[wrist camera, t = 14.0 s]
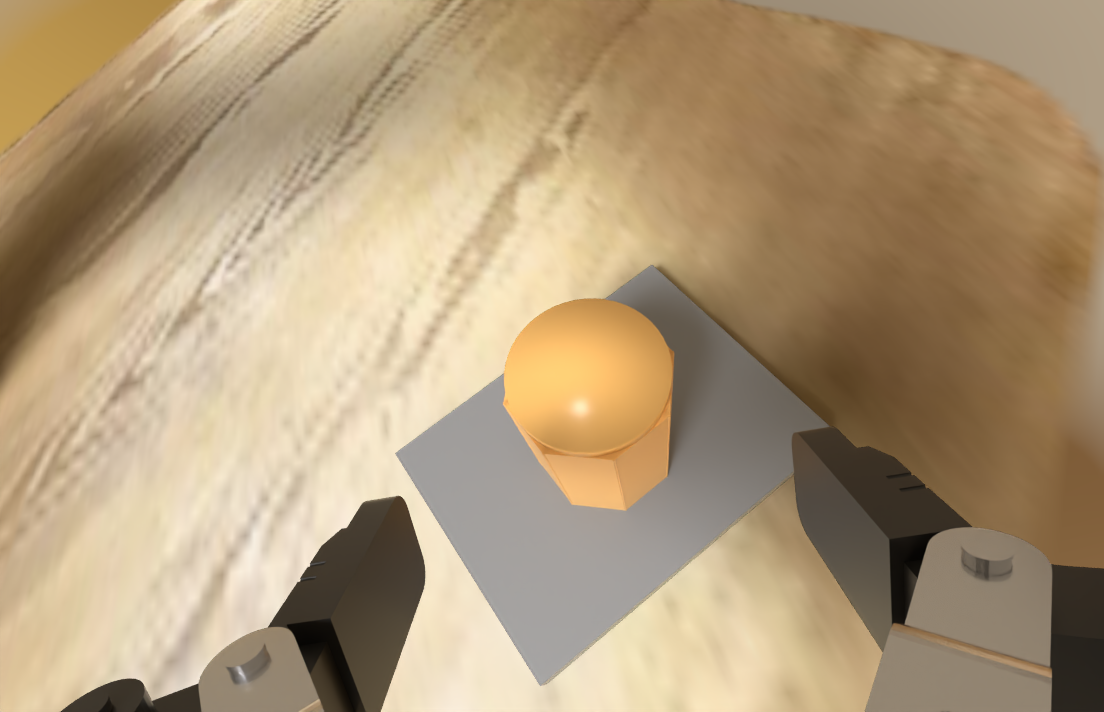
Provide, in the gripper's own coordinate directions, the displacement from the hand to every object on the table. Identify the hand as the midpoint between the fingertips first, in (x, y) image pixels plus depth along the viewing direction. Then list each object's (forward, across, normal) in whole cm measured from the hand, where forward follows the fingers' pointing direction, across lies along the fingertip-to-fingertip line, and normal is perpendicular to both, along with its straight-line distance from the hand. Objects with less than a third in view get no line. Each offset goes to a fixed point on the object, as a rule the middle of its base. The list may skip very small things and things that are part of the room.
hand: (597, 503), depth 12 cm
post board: (+15, 0, +6) cm, 16 cm away
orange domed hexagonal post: (+14, 0, +6) cm, 15 cm away
